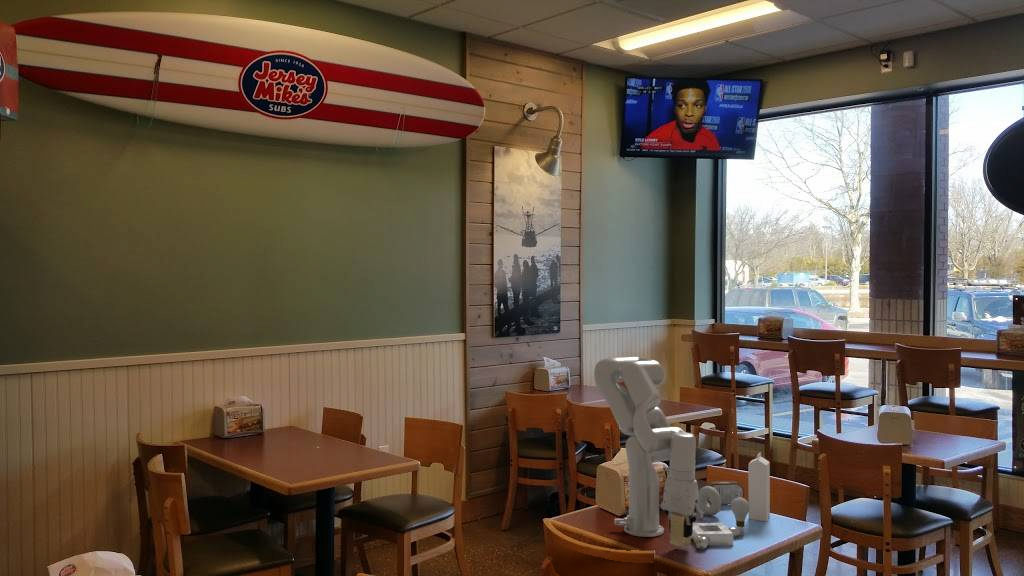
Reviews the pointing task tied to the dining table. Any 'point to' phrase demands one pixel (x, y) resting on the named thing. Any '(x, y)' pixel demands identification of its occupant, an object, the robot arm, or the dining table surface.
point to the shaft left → (703, 542)
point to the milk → (759, 488)
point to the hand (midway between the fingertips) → (680, 533)
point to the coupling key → (678, 530)
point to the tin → (727, 491)
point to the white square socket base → (713, 533)
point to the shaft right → (737, 531)
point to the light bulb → (740, 510)
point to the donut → (714, 498)
